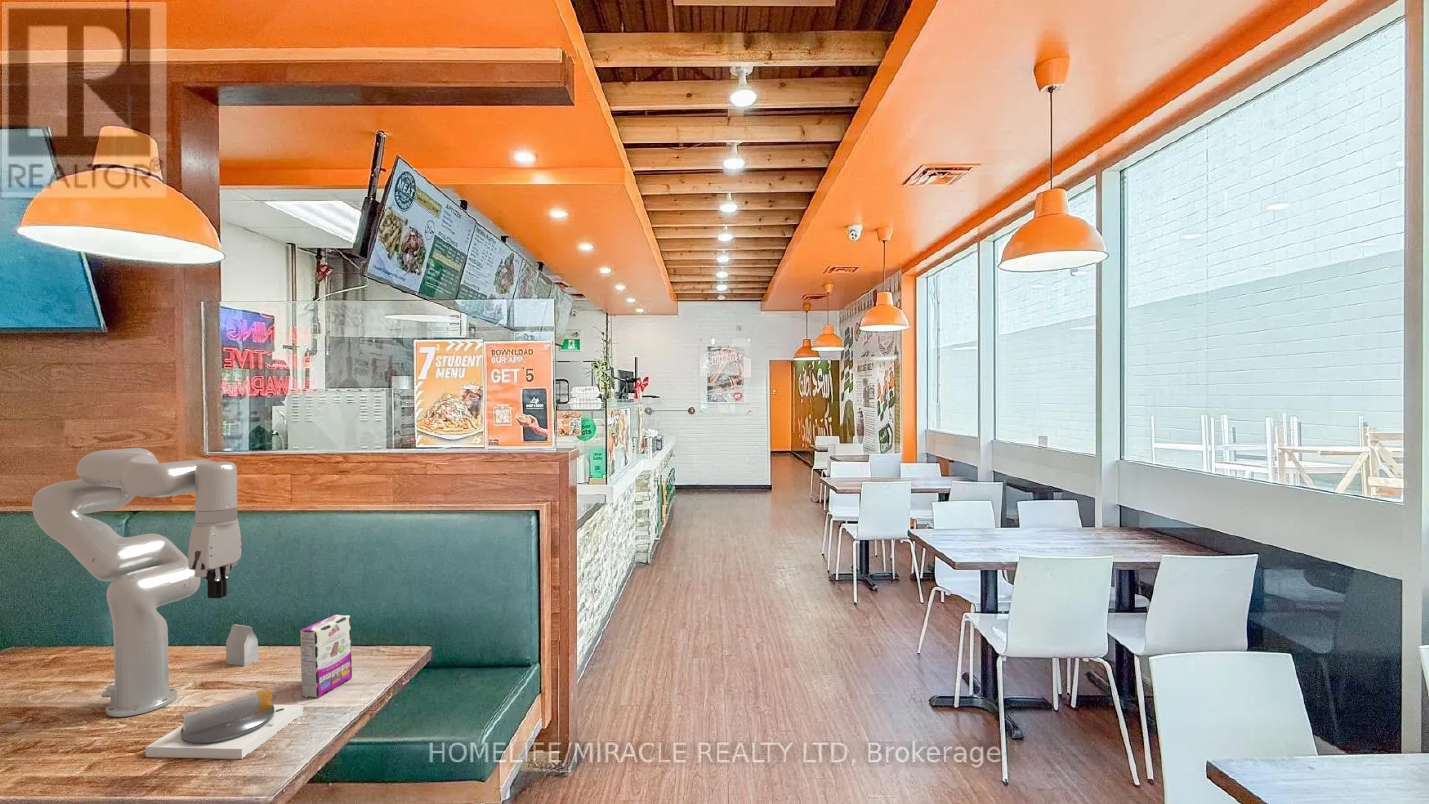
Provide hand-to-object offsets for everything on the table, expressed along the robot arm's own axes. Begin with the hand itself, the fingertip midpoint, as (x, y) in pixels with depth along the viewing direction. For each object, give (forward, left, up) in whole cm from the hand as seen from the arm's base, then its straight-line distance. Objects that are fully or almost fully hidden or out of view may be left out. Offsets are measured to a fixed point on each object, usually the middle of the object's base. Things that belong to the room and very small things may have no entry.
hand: (217, 596), depth 146 cm
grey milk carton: (-17, +28, -27) cm, 43 cm away
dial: (+9, -8, -25) cm, 27 cm away
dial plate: (+9, -8, -27) cm, 30 cm away
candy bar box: (+16, +14, -27) cm, 35 cm away
